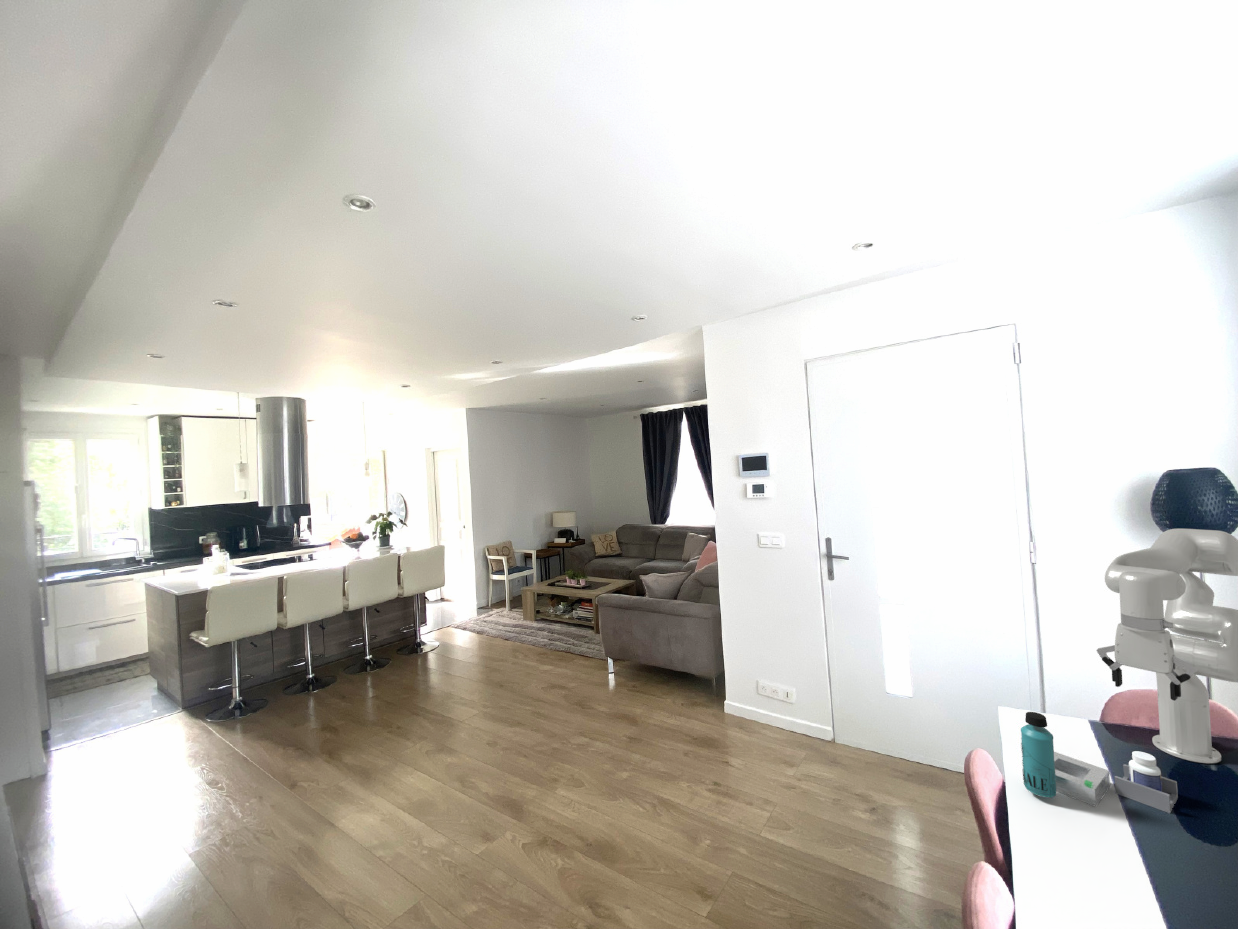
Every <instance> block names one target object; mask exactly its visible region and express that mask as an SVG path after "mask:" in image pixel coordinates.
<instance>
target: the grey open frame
mask: <svg viewBox="0 0 1238 929" xmlns="http://www.w3.org/2000/svg"><path fill="white" fill-rule="evenodd" d="M1122 769H1123V770H1122V771H1123V772H1122V773H1123V777H1120V776H1117V775H1115V776H1114V789H1115V790H1114V791H1115V794H1116V795H1119V796H1121V797H1124V798H1128V799H1131V800H1132V801H1135V802H1137V803H1140V804H1141V803H1142V804H1144V805H1146V806H1148V807H1152V808H1155V809H1157V810H1159V811H1163V812H1165V813H1168V814H1171V812H1172V811H1173V809H1172V808H1174V807H1175V805H1174V804H1176V803H1177V800H1178V798H1179V796H1178V795H1179V794H1178V782H1177V781H1176V780H1173V779H1170V778H1169V777H1164V776H1162V775H1161V782H1162V792H1161V791H1158V790H1155V789H1152V788H1149V787H1146V786H1144V785H1141V784H1138V783H1135V782H1132V781H1130V775H1129V764H1125V763H1124V764H1123V765H1122Z"/></svg>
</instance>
